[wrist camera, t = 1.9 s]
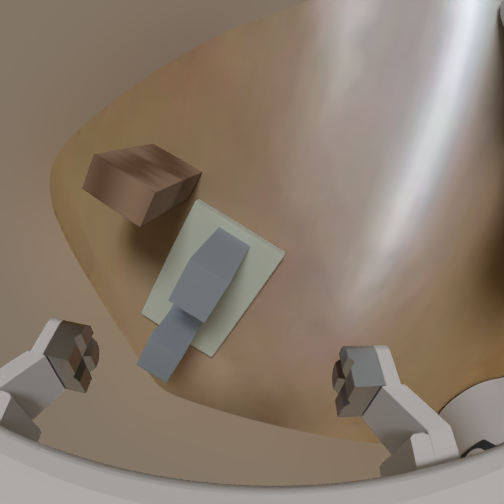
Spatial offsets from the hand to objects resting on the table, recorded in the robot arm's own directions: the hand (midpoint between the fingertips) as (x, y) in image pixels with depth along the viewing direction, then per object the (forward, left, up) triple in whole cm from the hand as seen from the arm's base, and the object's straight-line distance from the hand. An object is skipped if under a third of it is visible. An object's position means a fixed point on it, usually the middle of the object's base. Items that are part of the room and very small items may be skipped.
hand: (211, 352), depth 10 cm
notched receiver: (+2, +12, -22) cm, 26 cm away
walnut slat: (+11, +3, -22) cm, 25 cm away
